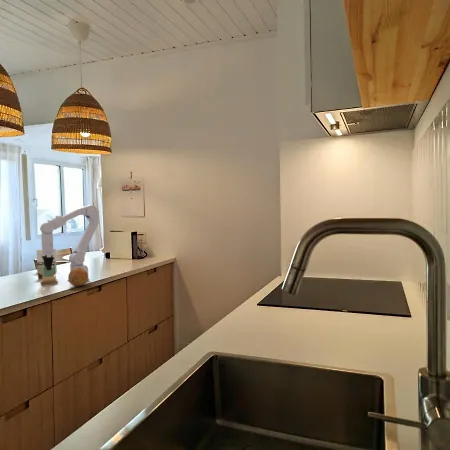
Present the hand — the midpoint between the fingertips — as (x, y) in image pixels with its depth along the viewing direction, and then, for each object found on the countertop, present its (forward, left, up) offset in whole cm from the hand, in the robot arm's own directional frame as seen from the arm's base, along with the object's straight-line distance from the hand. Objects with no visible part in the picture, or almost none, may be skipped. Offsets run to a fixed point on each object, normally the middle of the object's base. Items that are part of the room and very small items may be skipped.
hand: (48, 269), depth 215 cm
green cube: (0, 0, -4) cm, 4 cm away
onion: (-22, +1, -8) cm, 24 cm away
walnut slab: (0, 0, -9) cm, 9 cm away
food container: (+14, -13, -8) cm, 21 cm away
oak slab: (0, 0, -6) cm, 6 cm away
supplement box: (+38, -34, -8) cm, 52 cm away
